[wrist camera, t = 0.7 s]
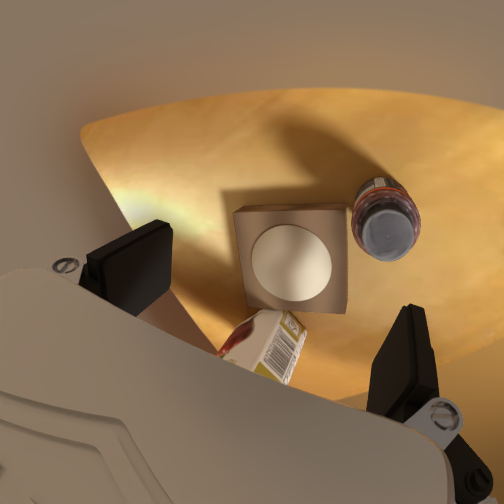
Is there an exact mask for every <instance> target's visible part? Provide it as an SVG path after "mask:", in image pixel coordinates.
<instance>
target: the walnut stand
mask: <svg viewBox="0 0 504 504" xmlns="http://www.w3.org/2000/svg"><path fill="white" fill-rule="evenodd" d="M233 217H234V224H235V230H236V237H237V244H238V250H239V256H240V263H241V269H242V276H243V282H244V288H245V295H246V301H247V307H249V308H260V309H272V310H285V311H299V312H315V313H332V314H345V312H346V307H347V301H348V240H347V211H346V203H326V204H287V205H261V206H243V207H241V208H240V209H238V210H237V211H235V212H233Z"/></svg>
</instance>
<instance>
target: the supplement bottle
mask: <svg viewBox="0 0 504 504" xmlns="http://www.w3.org/2000/svg"><path fill="white" fill-rule="evenodd" d="M351 226H352V232H353V236H354V238H355V240H356V242H357V244H358V245H359V247H360V248H361V249H362V250H363V251H364V252H366V253H367V254H369V255H371V256H372V257H374V258H376V259H378V260H381V261H395V260H398V259H400V258H402V257H403V256H404V255H406V254H407V253H408V251H409V250H410V249H411V248H412V247H413V246H414V244H415V243H416V241H417V239H418V237H419V233H420V227H421V223H420V215H419V212H418V209H417V207H416V205H415V204H414V202H413V200H412V199H411V197H410V196H409V194H408V193H407V191H406V190H405V189H404V187H403V186H402V185H401V184H399V183H398V182H397V181H395V180H393V179H391V178H388V177H376V178H373V179H370V180H368V181H367V182H366V183H364V184H363V185H362V187H361V188H360V190H359V191H358V194H357V196H356V200H355V205H354V209H353V214H352V221H351Z"/></svg>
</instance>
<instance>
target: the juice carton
mask: <svg viewBox="0 0 504 504" xmlns="http://www.w3.org/2000/svg"><path fill="white" fill-rule="evenodd" d="M306 333H307V331H306V329H305V328H304V327H303V326H302V325H301V324H300V323H299V321H298V320H297V319H296V318H295V317H294V316H293V315H292V314H291V313H290V312H289V311H285V310H272V309H262V310H260V311H259V312H257V313H256V314H255V315H253V316H251V317H250V318H248V319H247V320H245V321H243V322H242V323H240V324H239V325H238V326H237V327H236V328H235V330H234V331H233V332H232V334H231V335H230V336H229V338H228V339H227V341H226V342H225V343H224V345H223V346H222V348H221V349H220V350H219V352H218V353H217V355H216V356H217V357H219V358H221V359H223V360H226V361H228V362H231V363H233V364H235V365H238V366H240V367H243V368H245V369H247V370H250V371H252V372H255V373H257V374H260V375H263V376H265V377H268V378H270V379H273V380H276V381H278V382H281V383H284V384H286V385H288V383H289V380H290V378H291V375H292V373H293V370H294V368H295V365H296V363H297V360H298V357H299V355H300V352H301V349H302V346H303V343H304V340H305V337H306Z"/></svg>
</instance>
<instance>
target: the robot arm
mask: <svg viewBox="0 0 504 504" xmlns="http://www.w3.org/2000/svg"><path fill="white" fill-rule="evenodd" d="M172 241H173V229H172V228H171V226H170V224H169V223H167V222H164V221H161V220H158V219H156V220H154V221H152V222H150V223H148V224H146V225H143V226H141V227H139V228H137V229H135V230H133V231H131V232H129V233H127V234H125V235H123V236H121V237H119V238H118V239H116V240H113V241H112V242H110V243H108V244H106V245H104V246H102V247H100V248H98V249H96V250H94V251H92V252H91V253H89V254H87V255H86V256H87V263H86V264H84V263H83V261H82V259H80V258H79V257H76V256H63V257H59V258H57V259H55V260H53V261H52V262H51V263H50V264H49V266H48V268H47V270H44V269H39V268H31V267H24V268H19V269H17V270H14V271H12V272H10V273H8V274H5V275H4V276H2V277H0V504H498V503H497V501H496V498H495V497H494V498H492V499H491V498H490V493H491V491H492V488H493V477H492V474H491V472H490V470H489V469H488V467H487V466H486V465H485V464H484V463H483V461H482V460H481V459H480V458H479V457H478V456H477V454H476V453H475V452H474V451H473V450H472V449H471V448H470V447H469V445H468V444H467V443H466V442H465V441H464V439H463V438H462V437H461V436H460V435H459V434H458V433H459V432H460V430H461V428H462V426H463V417H462V414H461V412H460V409H459V408H458V407H457V406H456V405H455V404H454V403H453V402H452V401H450V400H448V399H446V398H441V397H439V387H438V378H437V370H436V363H435V356H434V351H433V348H432V347H431V344H430V338H429V332H428V326H427V321H426V316H425V311H424V308H422V307H419V306H416V305H413V304H409V305H408V306H403V307H402V309H401V310H400V312H399V314H398V316H397V318H396V320H395V322H394V324H393V326H392V328H391V330H390V332H389V334H388V335H387V337H386V339H385V341H384V343H383V344H382V346H381V348H380V350H379V352H378V353H377V355H376V357H375V359H374V361H373V363H372V367H371V377H370V385H369V394H368V401H367V408H366V411H364V410H361V409H358V408H355V407H352V406H349V405H346V404H343V403H339V402H336V401H333V400H330V399H327V398H324V397H321V396H318V395H315V394H312V393H309V392H306V391H303V390H300V389H297V388H294V387H292V386H289V385H286V384H284V383H281V382H278V381H276V380H273V379H270V378H268V377H265V376H263V375H260V374H257V373H255V372H252V371H250V370H247V369H245V368H243V367H240V366H238V365H235V364H233V363H231V362H228V361H226V360H223V359H221V358H219V357H217V356H214V355H212V354H210V353H208V352H205V351H203V350H201V349H199V348H197V347H194V346H192V345H190V344H188V343H186V342H184V341H182V340H180V339H178V338H176V337H174V336H171V335H169V334H167V333H165V332H163V331H161V330H159V329H158V328H156V327H154V326H152V325H150V324H148V323H146V322H144V321H142V320H140V319H138V318H136V316H137V315H139V314H140V313H141V312H142V311H143V310H144V309H146V308H147V307H148V306H149V305H150V304H152V303H153V302H154V301H155V300H156V299H158V298H159V297H160V296H161V295H163V294H164V293H165V292H166V291H167V290H168V289H169V287H170V284H171V262H172Z"/></svg>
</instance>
